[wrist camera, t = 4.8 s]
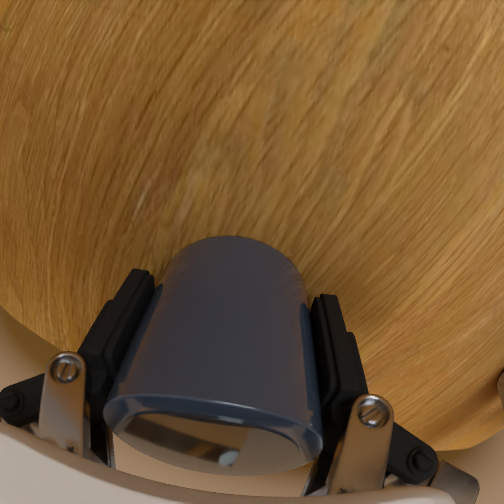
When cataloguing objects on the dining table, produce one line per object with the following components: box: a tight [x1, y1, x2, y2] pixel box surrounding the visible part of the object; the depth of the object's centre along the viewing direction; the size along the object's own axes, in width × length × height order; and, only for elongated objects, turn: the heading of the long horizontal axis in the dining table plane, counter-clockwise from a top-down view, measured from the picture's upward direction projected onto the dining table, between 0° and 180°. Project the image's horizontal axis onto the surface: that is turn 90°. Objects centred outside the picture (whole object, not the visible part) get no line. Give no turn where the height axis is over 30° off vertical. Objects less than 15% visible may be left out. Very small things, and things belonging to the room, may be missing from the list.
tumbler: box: [102, 236, 324, 476], centre depth 8 cm, size 6×6×6 cm
